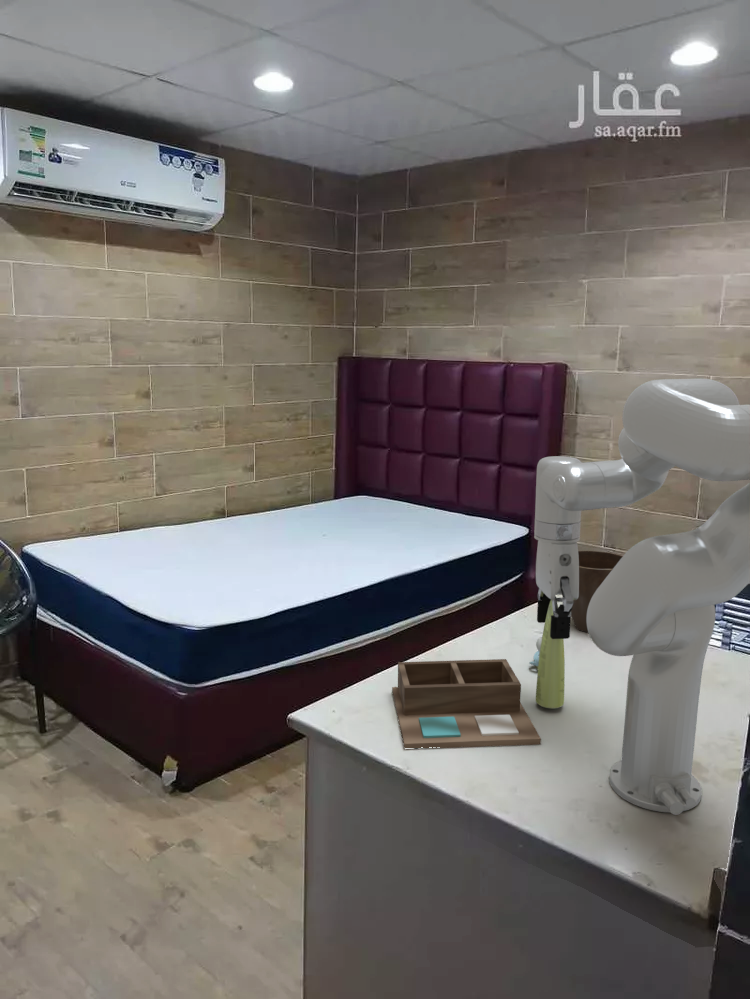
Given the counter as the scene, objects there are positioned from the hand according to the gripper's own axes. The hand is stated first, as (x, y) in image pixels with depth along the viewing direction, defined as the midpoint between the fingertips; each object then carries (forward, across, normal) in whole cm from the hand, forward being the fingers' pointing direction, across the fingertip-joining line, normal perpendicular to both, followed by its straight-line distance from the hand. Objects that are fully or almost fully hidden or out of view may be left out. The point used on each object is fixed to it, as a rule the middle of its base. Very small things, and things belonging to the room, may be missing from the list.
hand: (552, 629), depth 132 cm
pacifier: (+15, +16, -4) cm, 22 cm away
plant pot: (+14, +37, -21) cm, 44 cm away
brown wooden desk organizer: (+14, -2, +16) cm, 22 cm away
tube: (+14, 0, 0) cm, 14 cm away
